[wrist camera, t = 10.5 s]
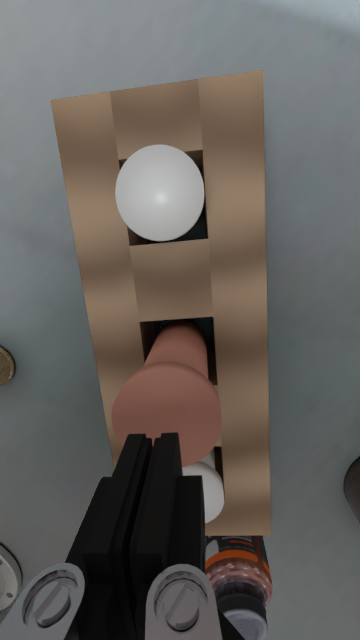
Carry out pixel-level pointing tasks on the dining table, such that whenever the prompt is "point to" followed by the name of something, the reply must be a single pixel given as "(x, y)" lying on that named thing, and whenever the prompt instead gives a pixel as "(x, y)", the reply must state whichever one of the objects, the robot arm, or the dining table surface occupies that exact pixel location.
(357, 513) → the pillar candle
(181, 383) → the brick plug
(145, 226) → the grey plug
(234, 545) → the supplement bottle
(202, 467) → the grey plug
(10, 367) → the sprinkles bottle
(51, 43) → the dining table surface
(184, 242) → the socket board
